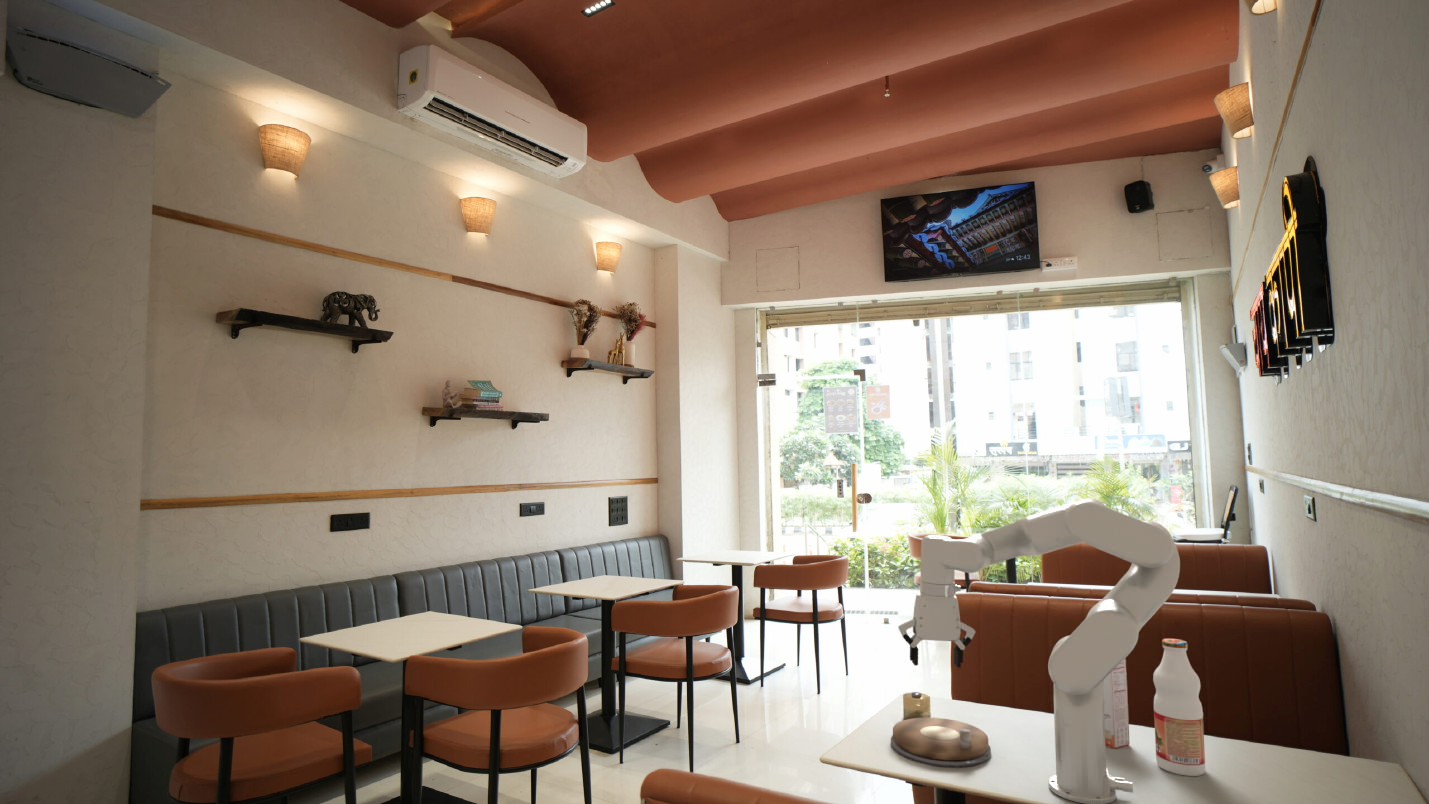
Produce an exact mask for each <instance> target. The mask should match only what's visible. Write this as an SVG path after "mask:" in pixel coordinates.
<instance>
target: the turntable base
mask: <svg viewBox="0 0 1429 804" xmlns="http://www.w3.org/2000/svg"><path fill="white" fill-rule="evenodd" d="M890 746H891V748H892V749H893V751H894V752H895V753H896V754H898V755H900V756H901V757H903V758H905V759H907V760H910V761H912V762H916V763H919V764H923V765H925V766H926V765H927V766H932V767H937V768H938V767H939V768H950V769H951V768H955V769H956V768H959V769H960V768H969V767H976V766H979V765H982V764H984V763H987V761H989V760H990V759H991V756H992V748H991V745H989V743H988V748H989V749H988V751H987V752H986V753H985V754H984V755H982V756H980V757H977V758H973V759H967V760H940V759H933V758H927V757H923V756H919V755H916V754H913V753H910V752H908V751H905V750H903V749H902V748H900V747H899V746H897V745H896V744H895V742H894V741H893V734H892V735H891V738H890Z"/></svg>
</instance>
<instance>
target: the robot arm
mask: <svg viewBox="0 0 1429 804" xmlns="http://www.w3.org/2000/svg"><path fill="white" fill-rule="evenodd" d="M1082 543H1085V544H1086V545H1087V546H1088V545H1089V546H1091V547H1093V548H1095V549H1098V550H1100V551H1102V552H1105V553H1107V554H1110V555H1112V556H1115V557H1116V558H1119V559H1121V560H1124V561H1127V562H1129V563H1131V565H1130V567H1129V569H1128V571H1126V573H1125V574H1124V575H1123V576H1122V577H1121V578H1120V579H1119V580H1118V582H1117V583H1116V584H1115V585H1114V586H1113V587H1112V589H1111V590H1109V591H1108V593H1107V594H1106V595H1105V596H1103V598H1102V599H1100V600H1099V601H1098V602H1097V603H1096V604H1094V605H1093V606H1092V607H1091V608H1090V610H1089V611H1088V613H1087V615H1086V617H1085V618H1084V620H1083V621H1082V622H1081V623H1080V624H1079V626H1076V629H1075V630H1073V631H1072V633H1071V634H1070V635H1066V636H1064V637H1062V638H1060V639H1059V640H1058V641H1057V642H1056V644H1054V646H1053V648H1052V651H1051V654H1050V655H1049V658H1048V662H1047V663H1048V664H1047V668H1048V674H1049V676H1050V677H1049V678H1050V679H1051V681H1052V682H1053V716H1054V718H1053V719H1054V720H1053V721H1054V745H1055V746H1054V747H1055V775H1052V776H1050V777H1049V778H1048V787H1049V789H1050V790H1051V792H1053V794H1055V795H1056V796H1059V797H1061V798H1063V799H1065V800H1068V801H1072V802H1075V803H1079V804H1110V803H1113V802H1114V801H1115V800H1116V799H1117V798H1116V797H1117V791H1122V792H1126V793H1132V794H1133V792H1134V788H1133V787H1134V785H1133V781H1126V780H1125V778H1124V777H1119V776H1112V774H1109V771H1108V770H1109V769H1108V768H1107V753H1106V752H1107V751H1106V747H1107V746H1106V745H1105V723H1104V718H1105V717H1104V686H1103V680H1104V679H1105V678H1106V677H1107V676H1108V675H1109V674H1110V673H1111V672H1112V671H1113V670H1114V669H1115V668H1116V667H1117V666H1118V665H1119V664H1120V663H1121V662H1122V661H1123V660H1124V659H1126V658H1127V657H1128V656H1129V655H1130V654H1131V653H1132V651H1134V648H1135V647H1136V645H1137V643H1138V640H1139V634H1140V633H1139V632H1140V631H1141V630H1142V628H1143V627H1144V626H1145V625H1146V623H1147V622H1148V621H1150V619H1152V617H1153V616H1154V615H1155V614H1156V613H1157V611H1158V610H1159V609H1160V608H1161V607H1162V606H1163V605H1164V604H1165V602H1166V601H1168V599H1169V598H1170V597H1171V595H1172V593H1173V592H1174V590H1175V588H1176V586H1177V583H1178V582H1179V578H1180V572H1181V560H1180V555H1179V551H1178V547H1177V545H1176V543H1175V541H1174V539H1173V536H1172V535H1171V533H1170V532H1169V530H1168V529H1167V528H1166V527H1165V526H1164V525H1162V524H1161V523H1158V522H1156V521H1151V520H1140V519H1137V518H1134V517H1132V516H1130V515H1127V514H1125V513H1122V512H1119V511H1117V510H1114V509H1112V508H1109V507H1108V506H1106V505H1105V504H1104V503H1103V502H1102V501H1100V500H1098V499H1095V498H1082V499H1079V500H1076V501H1073V502H1070V503H1067V504H1063V505H1060V506H1057V507H1053V508H1051V509H1048V510H1047V509H1046V510H1044V511H1040V512H1037V513H1034V514H1031V515H1028V516H1025V517H1022V518H1020V519H1018V520H1016V521H1014V522H1011V523H1009V524H1006V525H1003V526H999V527H998V528H997V527H996V528H993V529H991V530H987V531H983V532H981V533H976V534H974V535H970V536H969V537H968V536H967V537H966V538H963V539H953V538H952V537H950V536H948V535H947V536H946V535H940V534H928V535H925V536H923V537H922V539H921V545H920V588H919V589H920V591H919V592H917V593H916V596H915V600H914V607H913V614H912V615H913V617H912V619H910V620H908V621H905V622H904V623H901V624H899V625H898V627H897V628H898V630H899V633H900V634H901V636H902V638H903V639H904V640H905V642H906V643H907V644H908V645H909V660H910V662H912V665H914V666H918V665H919V648H918V644H919V643H921V641H939V642H953V643H954V644H955V646H954V648H953V664H954V665H955V666H956V667H957V668H961V666H962V664H963V663H964V651H965V649H966V647H967V646H968V645H970V643H971V642H972V639H973V638H974V636H975V634H976V630H975V629H974V628H972V627H971V626H969V625H967V624H965V623H964V622H962V621H961V615H960V607H959V601H958V598H957V596H956V593H957V592H961V589H962V588H961V585H957V584H956V583H955V571H959V572H963V573H968V574H974V573H975V574H976V573H978V572H980V571H982V570H983V569H984V568H986V567H988V566H991V565H994V564H998V563H1001V562H1005V561H1008V560H1011V559H1014V558H1020V557H1024V556H1025V557H1026V556H1035V557H1036V556H1040V555H1045V554H1048V553H1052V552H1054V551H1058V550H1062V549H1065V548H1068V547H1072V546H1074V545H1079V544H1082ZM911 628H912V633H913V635H912V636H911V637H910V635H908V632H907V631H908V630H909V629H911ZM961 630H963V631H965V632H966V633H965V636H963V637H962V639H961V640H960V638H961Z"/></svg>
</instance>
